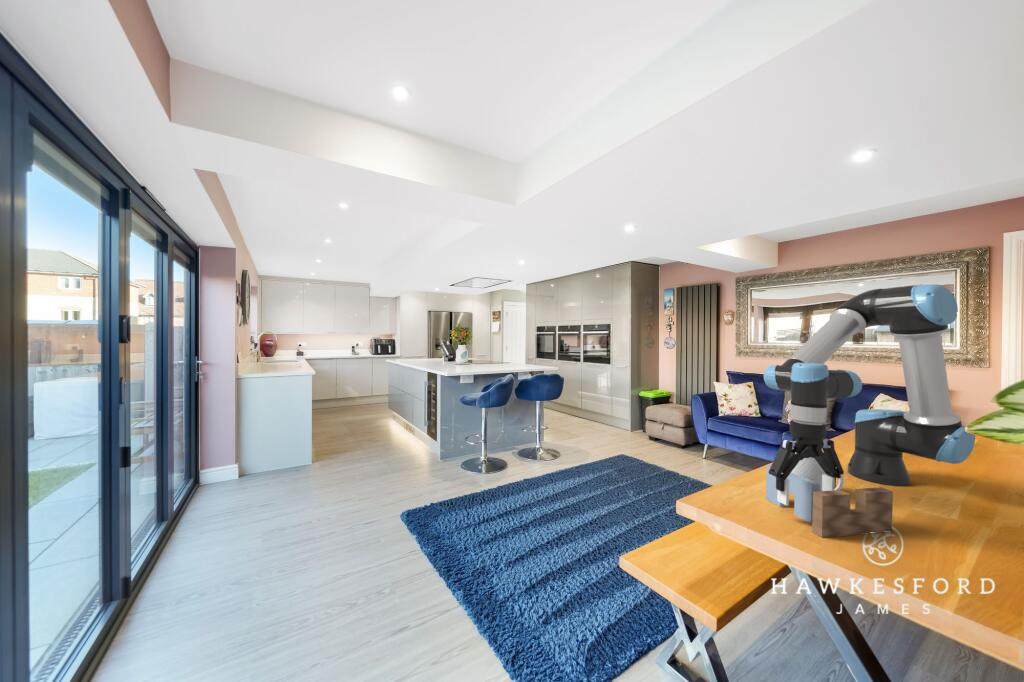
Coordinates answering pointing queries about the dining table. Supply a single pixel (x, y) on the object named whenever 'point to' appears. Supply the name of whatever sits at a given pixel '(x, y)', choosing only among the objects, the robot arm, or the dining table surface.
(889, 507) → the walnut slot plate
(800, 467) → the mug
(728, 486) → the dining table surface
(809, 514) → the pale blue flat slat
